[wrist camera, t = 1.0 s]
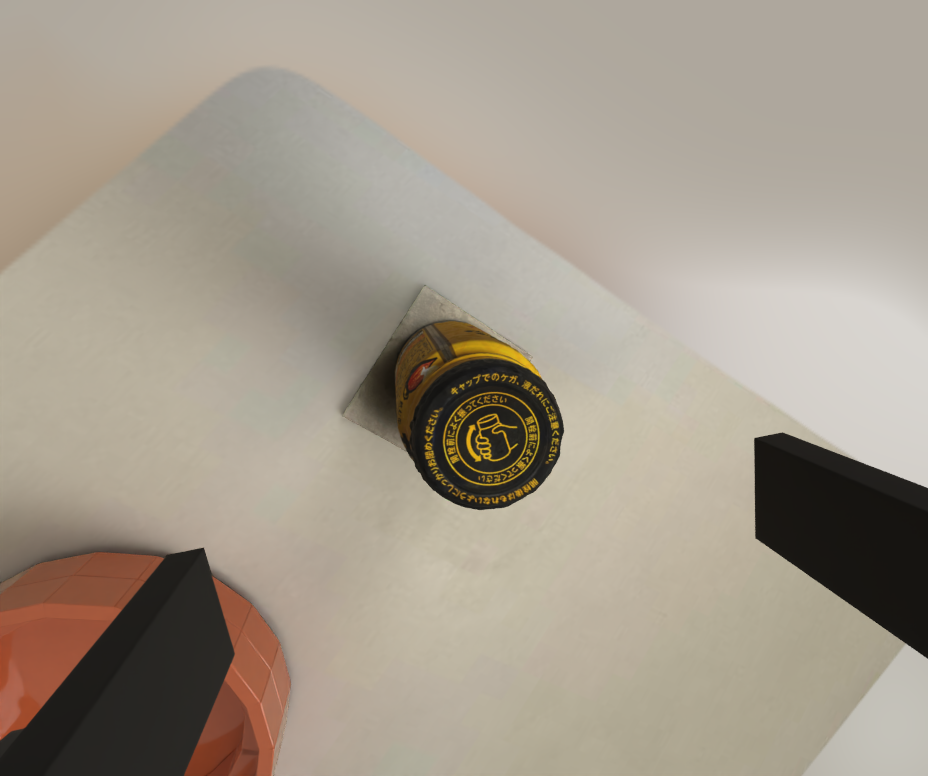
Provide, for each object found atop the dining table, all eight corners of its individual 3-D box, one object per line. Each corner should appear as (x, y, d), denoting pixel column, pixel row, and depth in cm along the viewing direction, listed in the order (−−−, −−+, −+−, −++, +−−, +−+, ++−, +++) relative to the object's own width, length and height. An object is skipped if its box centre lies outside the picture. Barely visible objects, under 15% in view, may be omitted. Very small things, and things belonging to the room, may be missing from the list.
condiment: (531, 356, 28) (628, 409, 17) (451, 476, 29) (490, 606, 18) (424, 284, 27) (449, 288, 15) (342, 414, 27) (305, 513, 16)
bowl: (-112, 587, 26) (-226, 657, 21) (250, 517, 28) (221, 566, 23) (14, 849, 30) (-58, 958, 26) (319, 773, 32) (307, 860, 28)
